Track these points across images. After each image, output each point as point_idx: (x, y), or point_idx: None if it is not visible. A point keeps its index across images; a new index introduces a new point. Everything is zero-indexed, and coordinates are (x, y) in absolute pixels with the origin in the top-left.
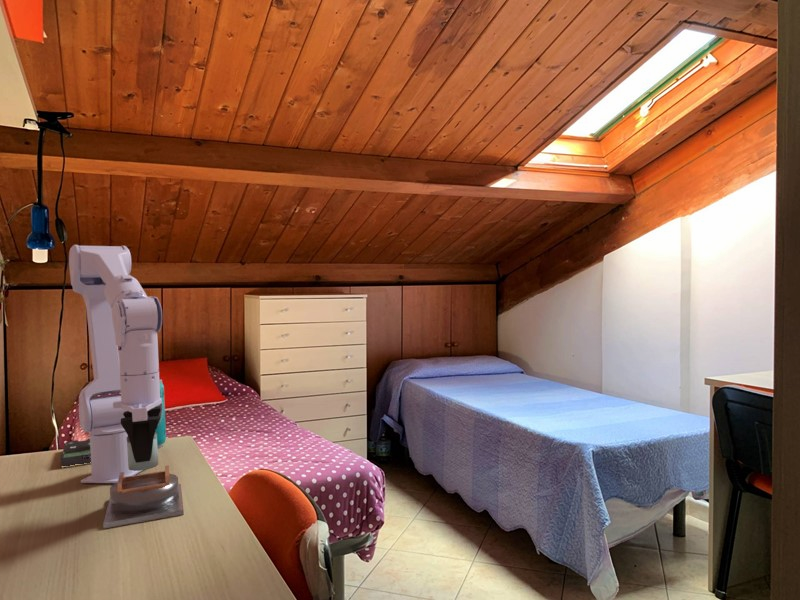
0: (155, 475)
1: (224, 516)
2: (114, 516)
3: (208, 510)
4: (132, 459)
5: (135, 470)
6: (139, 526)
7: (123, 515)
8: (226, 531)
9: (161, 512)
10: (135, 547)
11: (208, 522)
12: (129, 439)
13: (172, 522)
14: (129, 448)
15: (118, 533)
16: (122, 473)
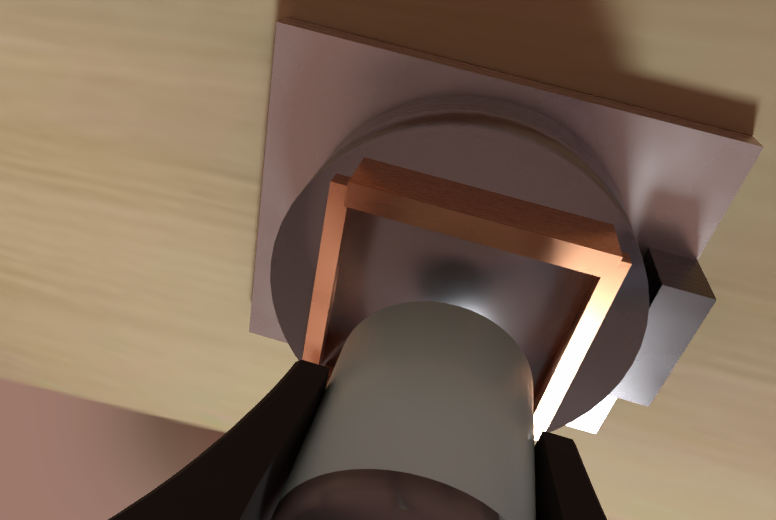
0: (542, 389)
1: (167, 393)
2: (345, 90)
3: (250, 385)
4: (358, 365)
5: (361, 322)
6: (227, 160)
7: (328, 129)
8: (44, 351)
9: (264, 264)
10: (17, 95)
11: (140, 345)
12: (156, 488)
13: (201, 266)
14: (361, 424)
15: (192, 68)
16: (573, 262)
